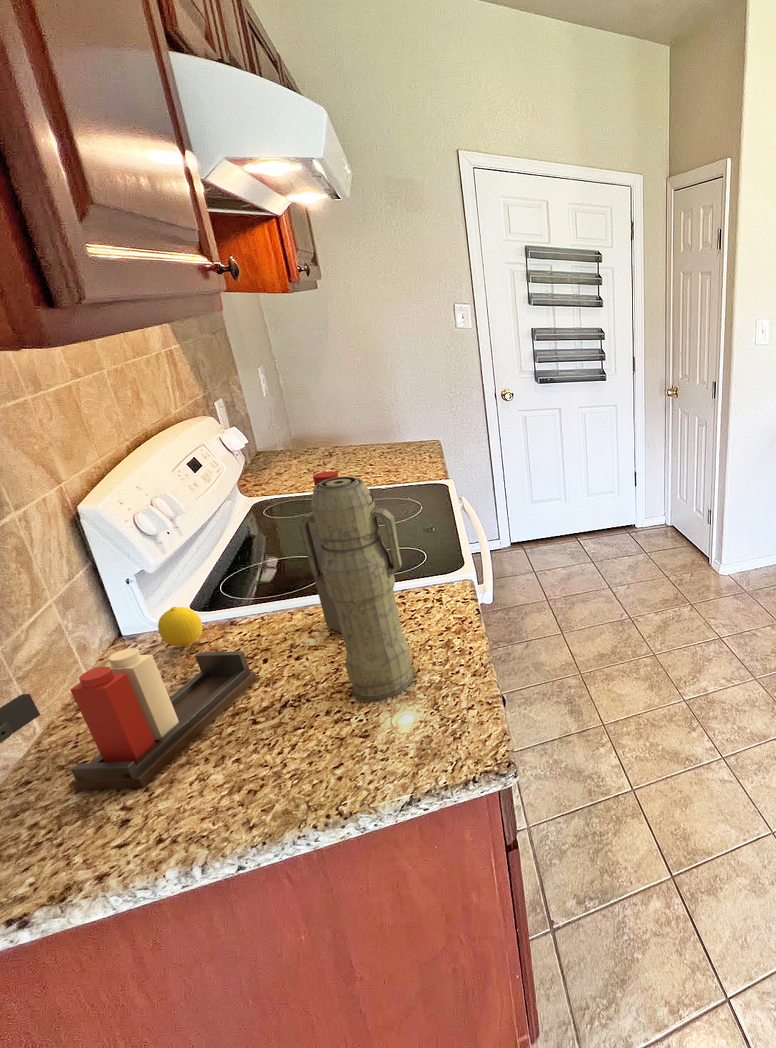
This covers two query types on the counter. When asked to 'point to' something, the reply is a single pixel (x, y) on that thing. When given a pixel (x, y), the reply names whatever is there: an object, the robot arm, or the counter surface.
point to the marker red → (113, 715)
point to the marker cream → (146, 689)
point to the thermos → (360, 584)
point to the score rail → (194, 710)
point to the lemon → (180, 626)
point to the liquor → (325, 600)
